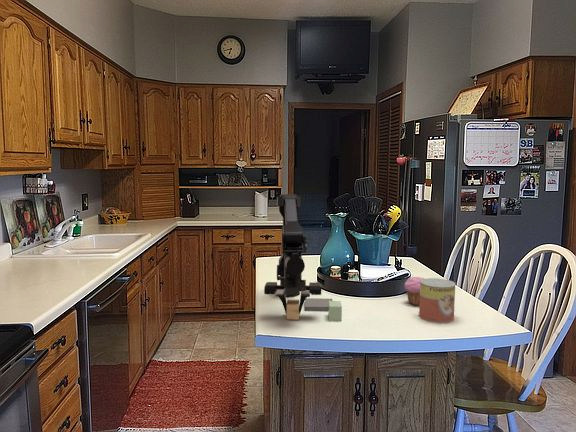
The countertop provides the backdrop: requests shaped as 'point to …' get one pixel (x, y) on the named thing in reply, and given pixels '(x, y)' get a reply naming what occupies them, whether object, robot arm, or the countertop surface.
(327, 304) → the grey baseplate
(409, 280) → the cupcake
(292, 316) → the oak brick
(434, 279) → the canned food
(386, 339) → the countertop surface
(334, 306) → the sage brick
